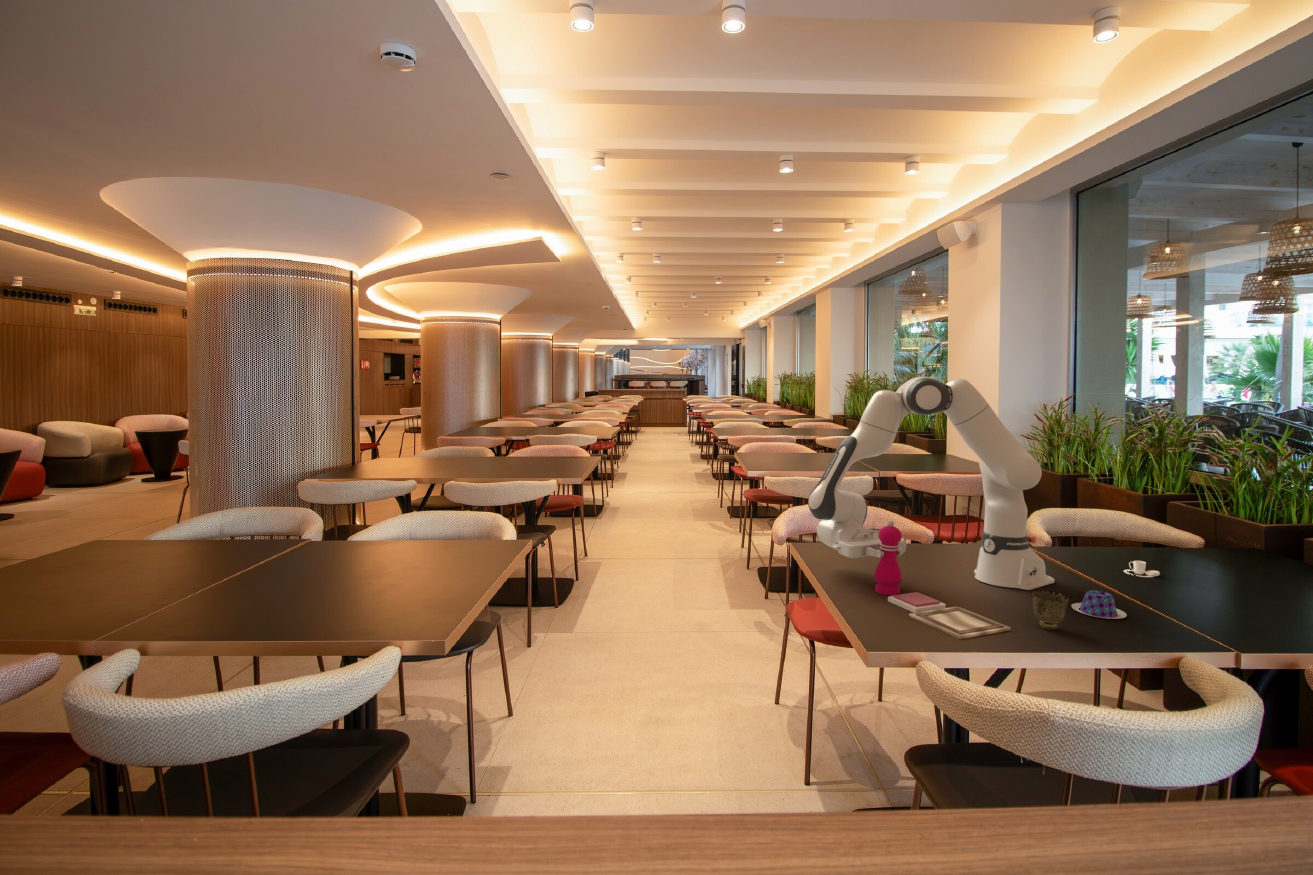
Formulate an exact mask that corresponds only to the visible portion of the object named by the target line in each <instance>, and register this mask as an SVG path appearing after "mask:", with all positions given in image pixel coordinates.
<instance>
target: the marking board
mask: <svg viewBox="0 0 1313 875" xmlns="http://www.w3.org/2000/svg"><path fill="white" fill-rule="evenodd" d="M908 617H910V618H912V619H914V620H916V621H919V622H921V623H924V624H925V625H928V626H929V627H932V628H935V629H936V630H939V631H940V632H943V633H945V634H948V635H950V636H952V637H954V638H957V639H958V640H963V638H964V639H969V638H974V637H975V638H976V637H980V636H985V635H991V634H992V635H993V634H997V633H1003V632H1008V631H1012V627H1010V626H1008V625H1005V624H1003V623H1001V622H997V621H996V620H993V619H990V618H987V617H985V616H982V615H980V614H978V613H975V612H972V611H970V610H967V609H965V608H962V607H960V606H958V605H957V606H951V607H946V608H944V609H937V610H931V611H924V612H918V613H913V612H911V613H908Z"/></svg>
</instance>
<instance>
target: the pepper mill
mask: <svg viewBox="0 0 1313 875" xmlns="http://www.w3.org/2000/svg"><path fill="white" fill-rule="evenodd" d="M894 525H895V523H894V521H892V520H888V521H887V523H886V525H885V526H883V527H881V528H879V529H880V531H879V535H878V536H879V539H880V541H881V542H882V543H880V548H881V550H882V551H884V557H881V558H880V561H879V562H878V565H877V566H876V568H875V570H874V580H875V581H876V582H877V583H875V593H878V594H879V595H884V596H894V595H899V594H900V590H901V589H900V586H899V584H901V582H902V580H903V574H902V570H901V568H900V565H899V563H898V559H897V558H898V556H897V551H898V550H899V544H898V543H899V542H900V541H901V538H903V537H902V536H903V535H902V532H901V530H900V529H899V528H898V527H897V526H894Z"/></svg>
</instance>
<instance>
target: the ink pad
mask: <svg viewBox="0 0 1313 875" xmlns="http://www.w3.org/2000/svg"><path fill="white" fill-rule="evenodd" d="M887 602H889V603H891V604H893V605H896V606H897V607H900V608H903V609H905V610H907V611H908V612H911V613H918V612H924V611H931V610H937V609H944V608H947V607H946V605H947V604H946V603H944V602H941V601H940V600H938V599H936V598H933V597H931V596H928V595H926V594H923V593H921V592H918V591H914V592H909V593H901V594H900V593H899V594H898V595H889V596H887Z"/></svg>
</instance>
